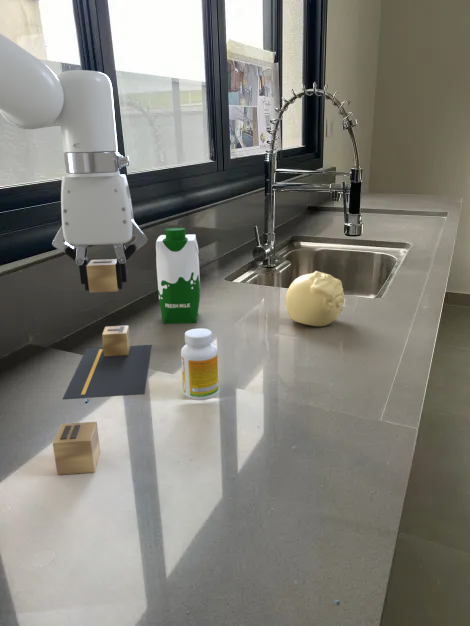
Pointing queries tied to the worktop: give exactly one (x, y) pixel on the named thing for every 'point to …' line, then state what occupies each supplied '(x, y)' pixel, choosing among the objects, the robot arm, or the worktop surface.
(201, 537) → the worktop surface
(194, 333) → the supplement bottle
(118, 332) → the small cardboard box
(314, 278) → the pale yellow lumpy ball
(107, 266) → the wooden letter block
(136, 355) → the word mat
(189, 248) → the milk carton
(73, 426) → the striped cardboard box
